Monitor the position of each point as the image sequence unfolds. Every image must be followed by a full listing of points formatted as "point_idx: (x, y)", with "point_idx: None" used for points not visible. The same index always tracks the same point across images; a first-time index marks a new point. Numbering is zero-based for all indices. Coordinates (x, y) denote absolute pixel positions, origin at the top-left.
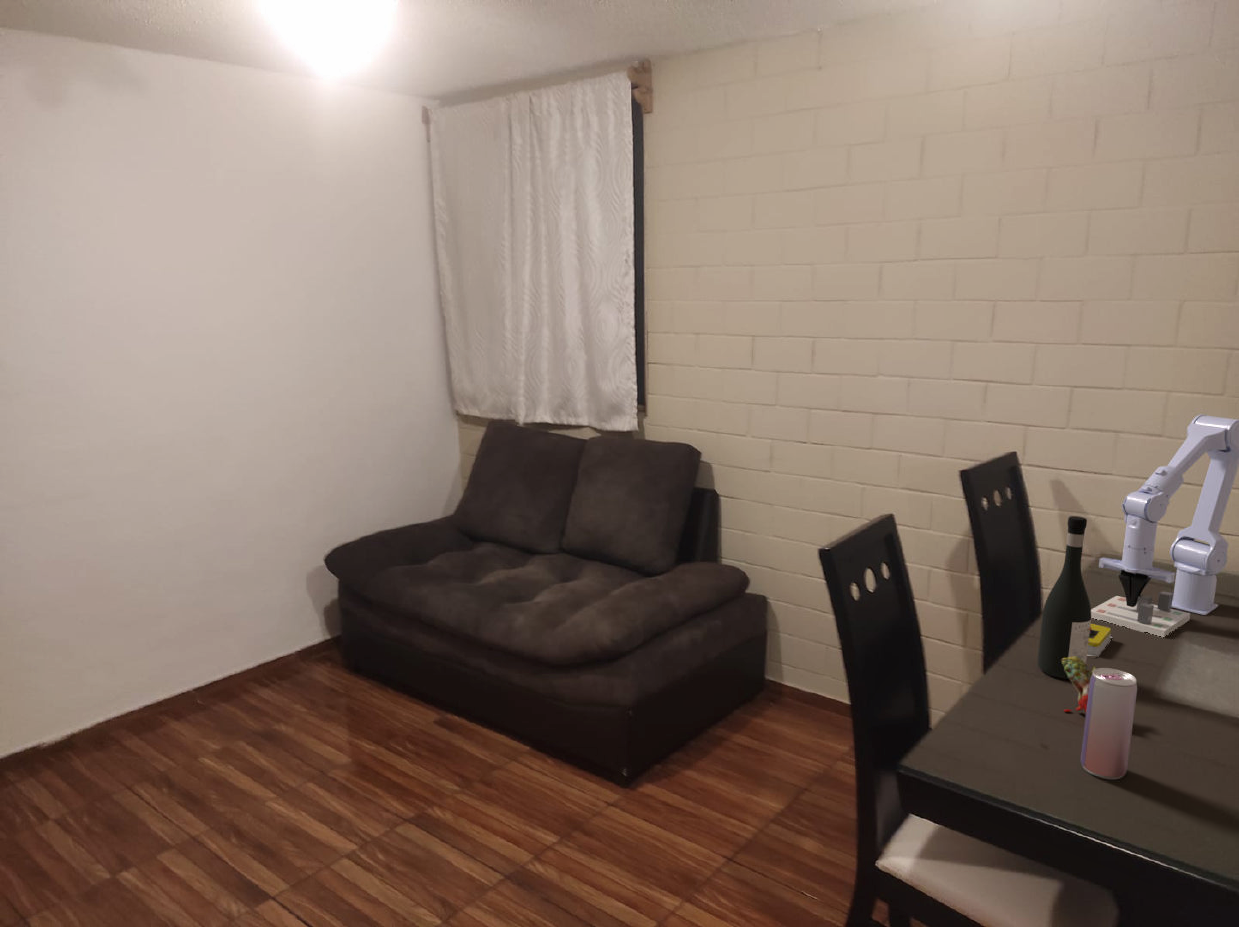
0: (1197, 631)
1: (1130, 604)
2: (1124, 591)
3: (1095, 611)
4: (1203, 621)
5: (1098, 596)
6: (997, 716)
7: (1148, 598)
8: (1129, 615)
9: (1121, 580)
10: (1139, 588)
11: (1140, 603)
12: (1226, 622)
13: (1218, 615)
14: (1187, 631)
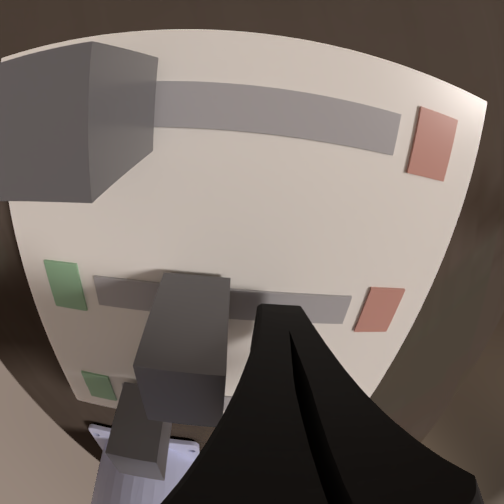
0: (3, 283)
1: (278, 313)
2: (357, 385)
3: (458, 118)
4: (62, 386)
5: (401, 400)
6: None
7: (135, 372)
8: (253, 188)
9: (441, 468)
10: (207, 447)
11: (201, 325)
12: (38, 401)
13: (81, 433)
14: (13, 255)
